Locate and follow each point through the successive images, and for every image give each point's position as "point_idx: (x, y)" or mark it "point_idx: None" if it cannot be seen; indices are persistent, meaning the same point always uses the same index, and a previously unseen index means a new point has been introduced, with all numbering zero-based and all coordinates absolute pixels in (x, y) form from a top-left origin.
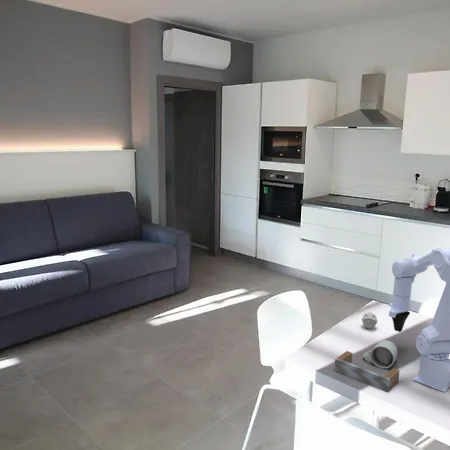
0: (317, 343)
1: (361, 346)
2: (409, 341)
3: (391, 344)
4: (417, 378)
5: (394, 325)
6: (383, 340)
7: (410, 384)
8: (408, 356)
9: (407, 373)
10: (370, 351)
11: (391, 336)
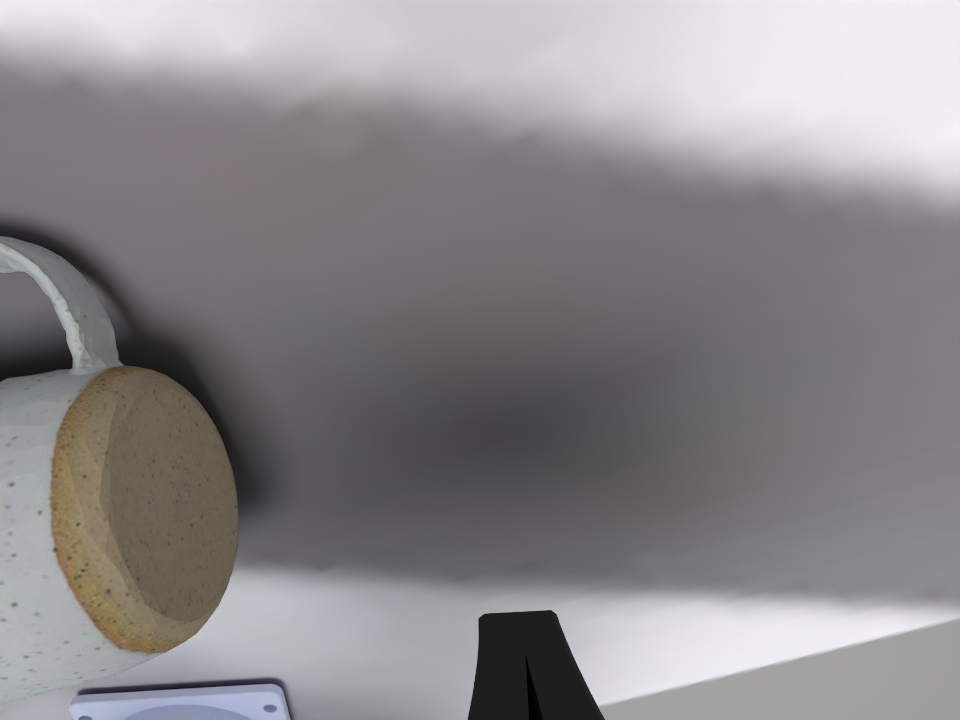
0: None
1: (235, 10)
2: (852, 409)
3: (24, 690)
4: (107, 716)
5: (473, 716)
6: (41, 564)
7: None
8: (467, 529)
9: None
10: (46, 289)
11: (901, 198)
